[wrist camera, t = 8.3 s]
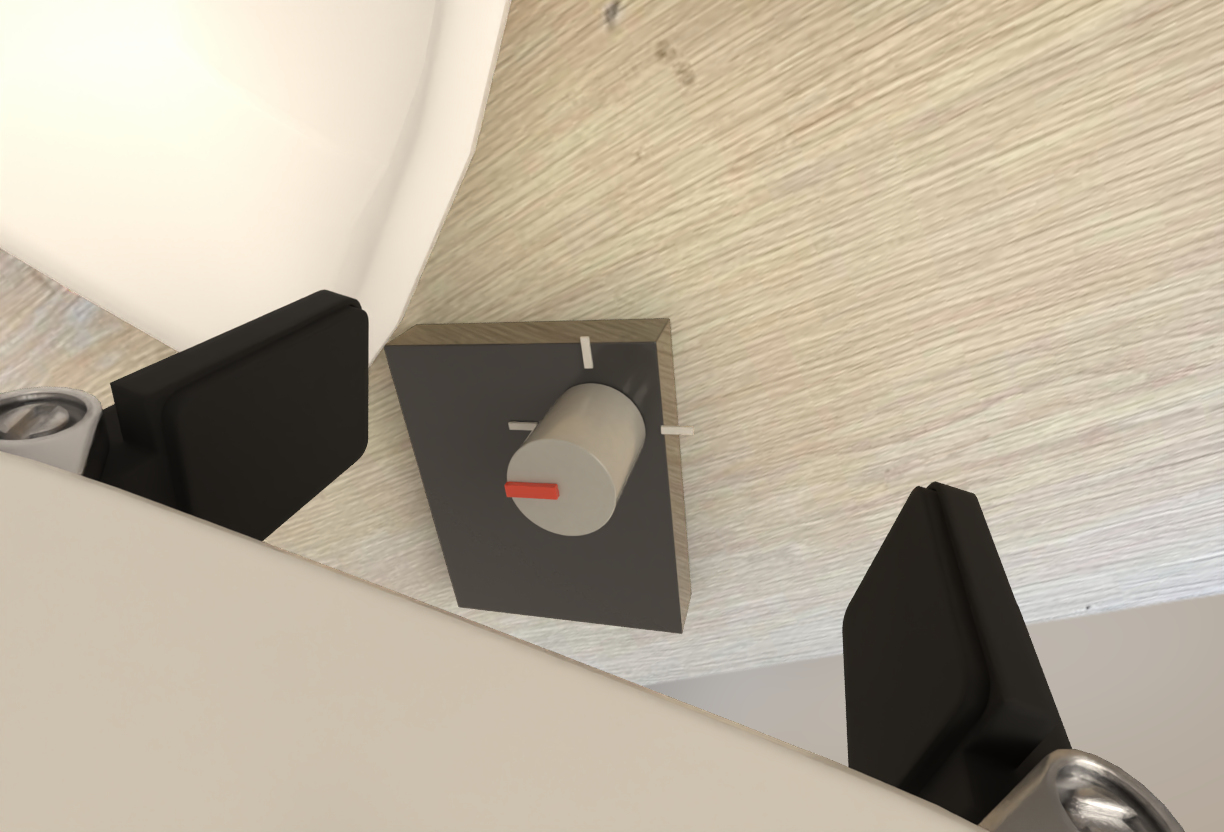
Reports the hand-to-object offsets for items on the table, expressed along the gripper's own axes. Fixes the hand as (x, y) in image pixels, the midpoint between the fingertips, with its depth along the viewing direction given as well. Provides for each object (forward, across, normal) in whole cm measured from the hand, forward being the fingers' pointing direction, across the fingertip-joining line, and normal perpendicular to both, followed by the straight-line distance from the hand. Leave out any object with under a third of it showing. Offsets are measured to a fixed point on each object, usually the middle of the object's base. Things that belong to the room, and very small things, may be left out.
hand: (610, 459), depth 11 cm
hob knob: (+15, +3, +9) cm, 18 cm away
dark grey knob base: (+18, +5, +14) cm, 24 cm away
